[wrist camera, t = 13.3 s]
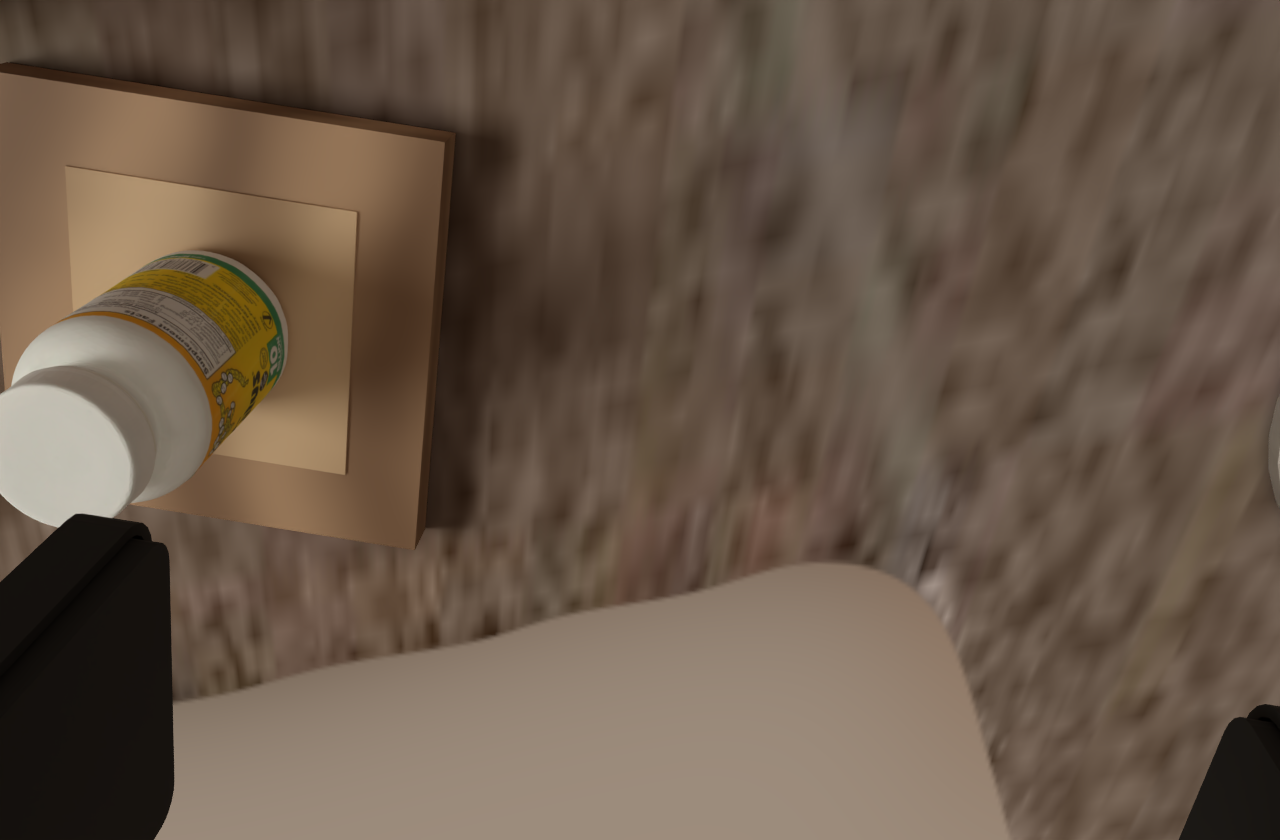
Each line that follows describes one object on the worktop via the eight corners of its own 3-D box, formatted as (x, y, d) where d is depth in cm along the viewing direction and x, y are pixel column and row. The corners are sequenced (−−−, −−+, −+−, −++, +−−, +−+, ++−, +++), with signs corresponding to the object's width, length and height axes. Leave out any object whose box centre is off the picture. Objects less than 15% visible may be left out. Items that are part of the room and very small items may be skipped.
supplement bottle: (197, 211, 37) (30, 311, 28) (328, 334, 38) (207, 467, 30) (95, 322, 39) (-93, 449, 30) (224, 437, 40) (80, 590, 31)
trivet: (455, 132, 37) (444, 142, 36) (425, 528, 43) (414, 551, 41) (6, 62, 37) (-23, 69, 36) (36, 466, 43) (11, 486, 41)
